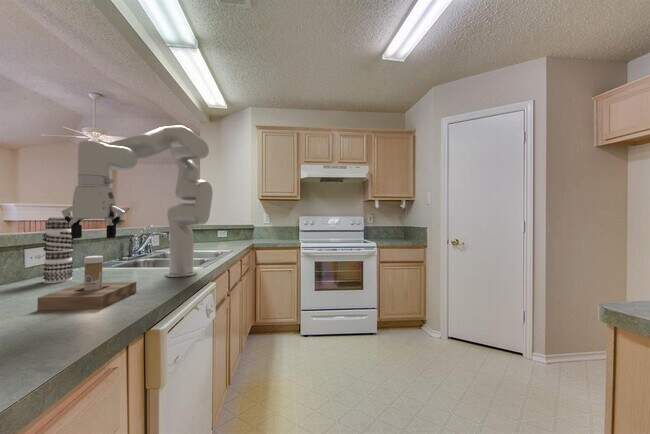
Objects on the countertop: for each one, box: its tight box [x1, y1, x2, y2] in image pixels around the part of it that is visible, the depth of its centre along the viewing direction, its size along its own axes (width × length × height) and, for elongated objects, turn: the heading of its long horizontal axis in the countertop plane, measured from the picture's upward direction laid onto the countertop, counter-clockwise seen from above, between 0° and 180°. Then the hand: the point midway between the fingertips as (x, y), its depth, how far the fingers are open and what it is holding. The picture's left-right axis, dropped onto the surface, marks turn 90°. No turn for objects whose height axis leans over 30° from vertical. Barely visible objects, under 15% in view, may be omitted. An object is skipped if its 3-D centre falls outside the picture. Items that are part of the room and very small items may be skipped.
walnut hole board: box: [36, 281, 137, 311], centre depth 87 cm, size 18×16×4 cm
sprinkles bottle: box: [83, 255, 104, 292], centre depth 87 cm, size 5×5×14 cm
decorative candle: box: [42, 216, 75, 284], centre depth 112 cm, size 9×9×25 cm
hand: (94, 238), depth 87 cm, fingers open, 9 cm apart
